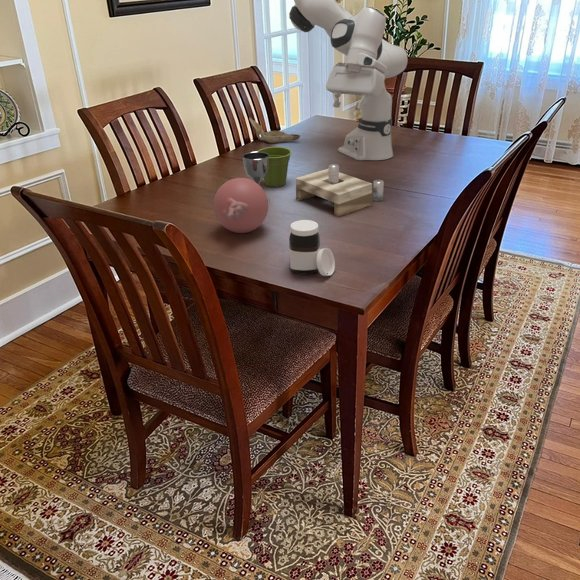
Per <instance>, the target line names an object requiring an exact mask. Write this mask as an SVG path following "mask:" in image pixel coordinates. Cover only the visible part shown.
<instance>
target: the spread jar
mask: <svg viewBox="0 0 580 580" xmlns="http://www.w3.org/2000/svg"><path fill="white" fill-rule="evenodd" d="M288 245H289V246H288V248H289V252H288V253H289V267H290V270H291V271H292V272H294V273H296V272H297V273H296V274H299V273H310V274H313V273H312V272H314V273H315V272H319V274H320V275H321V276H322V277H328V276H332V275H333V274H334V272H335V267H336V261H335V257H334V253H333V252H332V250H331V249H330V248H328V247H325V248H321V236H320V232H319V224H318V223H317V222H316V221H314V220H309V219H300V220H296V221H293V222H292V223H290V233H289V237H288ZM327 273H328V274H327Z"/></svg>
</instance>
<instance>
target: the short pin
mask: <svg viewBox="0 0 580 580" xmlns="http://www.w3.org/2000/svg"><path fill="white" fill-rule="evenodd" d="M384 182H385V181H384V180H383V179H375V180H373V183H372V200H373V201H374V202H381V201H382V202H383V201H384V200H383V199H384V188H385V187H384V185H385V183H384Z"/></svg>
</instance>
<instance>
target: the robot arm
mask: <svg viewBox="0 0 580 580" xmlns="http://www.w3.org/2000/svg"><path fill="white" fill-rule="evenodd" d="M340 1H343V0H340ZM293 3H294V5H293V6H292V7H291V8H290V11H289V13H288V15H289V17H288V18H289V20H290V22H291V24H292V25H293V27H294V28H295V29H297V30H299V31H300V32H304V33H310V32H311V31H312V30H313V29H314V28H315V26H318V27H319V28H322V29H323V30H324V32H325V33H326V34H327V36H328V37H329V38H330V44H331V47H332V48H334V50H336V51H337V52H340V53H341V54H343V55H345V56H346V59H345V62H338V63H337V64H335V65H334V66H333V67H332V69H331V72H329V73H330V74H329V77H328V78H327V81H326V84H325V88H326V91H328V92H330V93H332V98H333V103H332V107H333V108H338V109H339V108H340V107H341V104H342V102H341V101H340V97H341V95H351V96H360V97H361V99H360V100H359V102H356V103H355V110H357V111H361V117H360V118H356V119H355V120H356V123H358V124H357V127H356V128H354V129H352V131H351V132H349V133H348V134H346V135H345V138H344V143H343V145H341V146H340V147H338V148H337V151H338V152H339V153H341V154H344V155H345V156H347V157H350V158H351V159H354V160H356V161H384V160H388V159H390V158H391V159H392V157H394V151H393V146H392V145H393V144H392V129H393V118H392V111H393V110H392V109H393V108H392V107H393V98H392V95H391V93H389V92H388V91H387V89H386V88H387V87H386V85H385V80H387V79H389V78H394V77H396V76H398V75H400V74H401V73H402V72H404V71H405V70H406V68H407V65H408V62H409V61H408V54H407V52H406V50H405V49H404V48H403V47H401V46H398V45H396V44H392V43H390V42H388V41H386V40H385V39H383V37H384V33H385V28H386V23H387V22H386V21H387V19H386V18H387V17H386V16H385V14H384V13H383V12H382V11H380V10H379V9H376V8H375V7H372V6H371V7H370V6H364V7H363V8H361V9H360V11H359V12H358V13H357V14H355V15H353V14H352V13H350V12H349V11H348V10H346V9H345V8H344V7H342V6H341V5H340V4H339V3H338V0H293Z"/></svg>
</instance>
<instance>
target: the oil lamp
mask: <svg viewBox="0 0 580 580" xmlns="http://www.w3.org/2000/svg"><path fill="white" fill-rule="evenodd" d="M248 119H249V121H250V123H251V125H252V127H253V128H254V129H255V134H256V137H257V138H258V140H260V141H265V142H267V144H278V143H284V142H290V141H291V142H296V141H297V140H299V139H300V137H301V135H300V134H296V133H295V134H294V133H286V132H285V131H281V130H269V131H266V132H265V131H264V130H263V126H261V125H260V124H259V123H258V122H257V121H255V120H254V119H252V117H249V118H248ZM260 136H261V137H260Z"/></svg>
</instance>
